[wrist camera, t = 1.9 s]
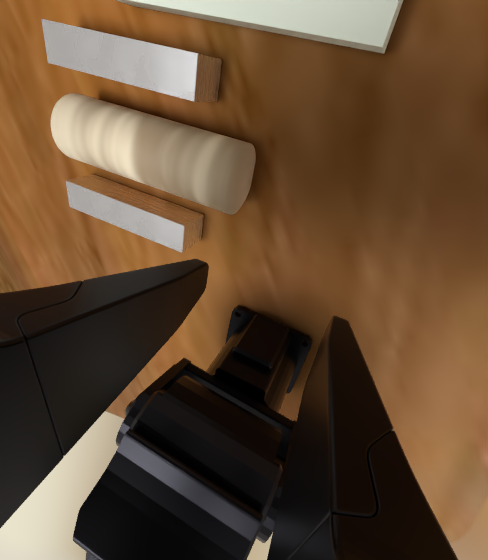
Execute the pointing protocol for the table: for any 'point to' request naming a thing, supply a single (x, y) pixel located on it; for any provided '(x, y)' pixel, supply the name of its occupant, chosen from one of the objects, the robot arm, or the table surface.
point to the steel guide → (150, 75)
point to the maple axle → (155, 151)
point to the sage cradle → (297, 17)
